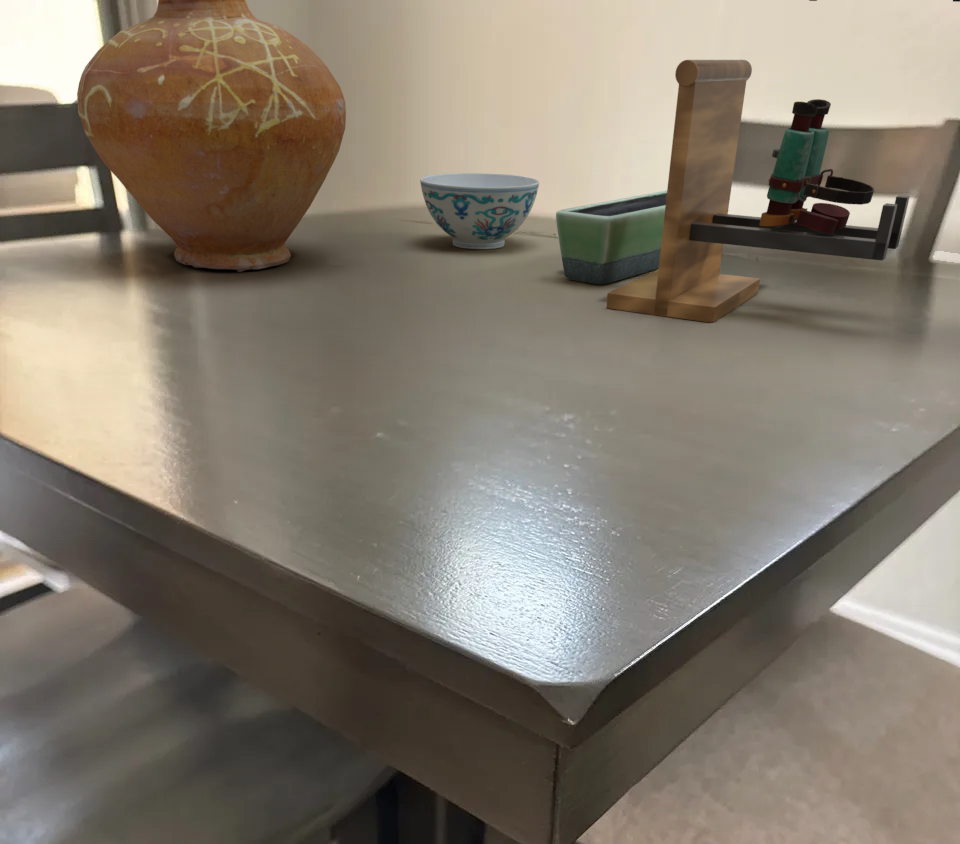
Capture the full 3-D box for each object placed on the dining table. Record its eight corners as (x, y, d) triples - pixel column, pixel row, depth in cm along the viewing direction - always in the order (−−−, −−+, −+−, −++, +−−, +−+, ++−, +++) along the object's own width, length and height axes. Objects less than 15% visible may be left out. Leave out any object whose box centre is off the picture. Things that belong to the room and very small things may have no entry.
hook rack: (889, 308, 100) (945, 65, 88) (857, 344, 87) (918, 65, 76) (662, 280, 110) (687, 58, 98) (604, 309, 97) (625, 58, 86)
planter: (667, 248, 127) (674, 188, 123) (717, 255, 123) (726, 193, 120) (548, 280, 108) (552, 210, 104) (604, 290, 105) (610, 217, 101)
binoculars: (888, 117, 81) (773, 97, 85) (847, 248, 87) (742, 225, 91) (908, 112, 88) (801, 94, 92) (869, 235, 94) (770, 214, 98)
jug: (108, 294, 98) (45, -72, 82) (102, 246, 121) (51, -49, 105) (379, 280, 106) (368, -55, 91) (325, 237, 129) (309, -37, 113)
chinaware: (538, 256, 120) (542, 188, 116) (417, 254, 120) (416, 185, 116) (533, 236, 133) (536, 174, 129) (424, 234, 133) (423, 172, 129)
